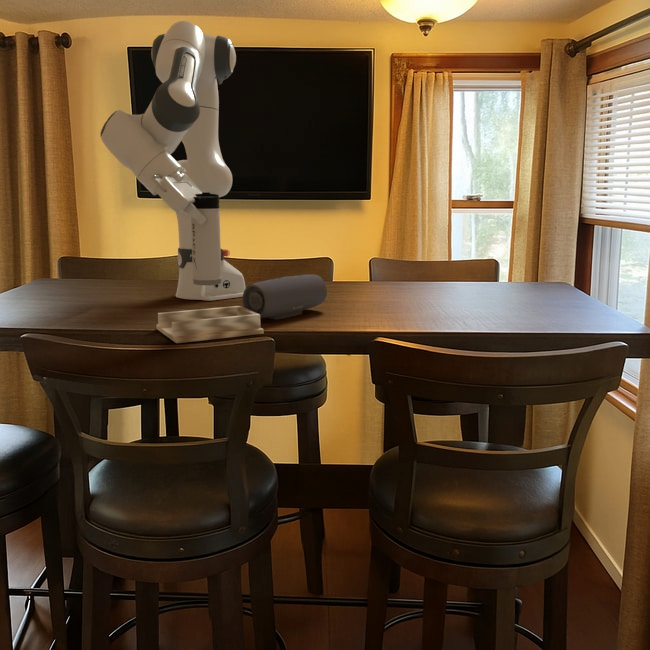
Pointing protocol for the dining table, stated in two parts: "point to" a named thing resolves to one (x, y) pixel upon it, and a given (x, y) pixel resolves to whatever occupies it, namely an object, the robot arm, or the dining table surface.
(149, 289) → the dining table surface
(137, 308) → the dining table surface
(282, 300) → the bluetooth speaker
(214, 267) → the travel mug
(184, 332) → the tray
